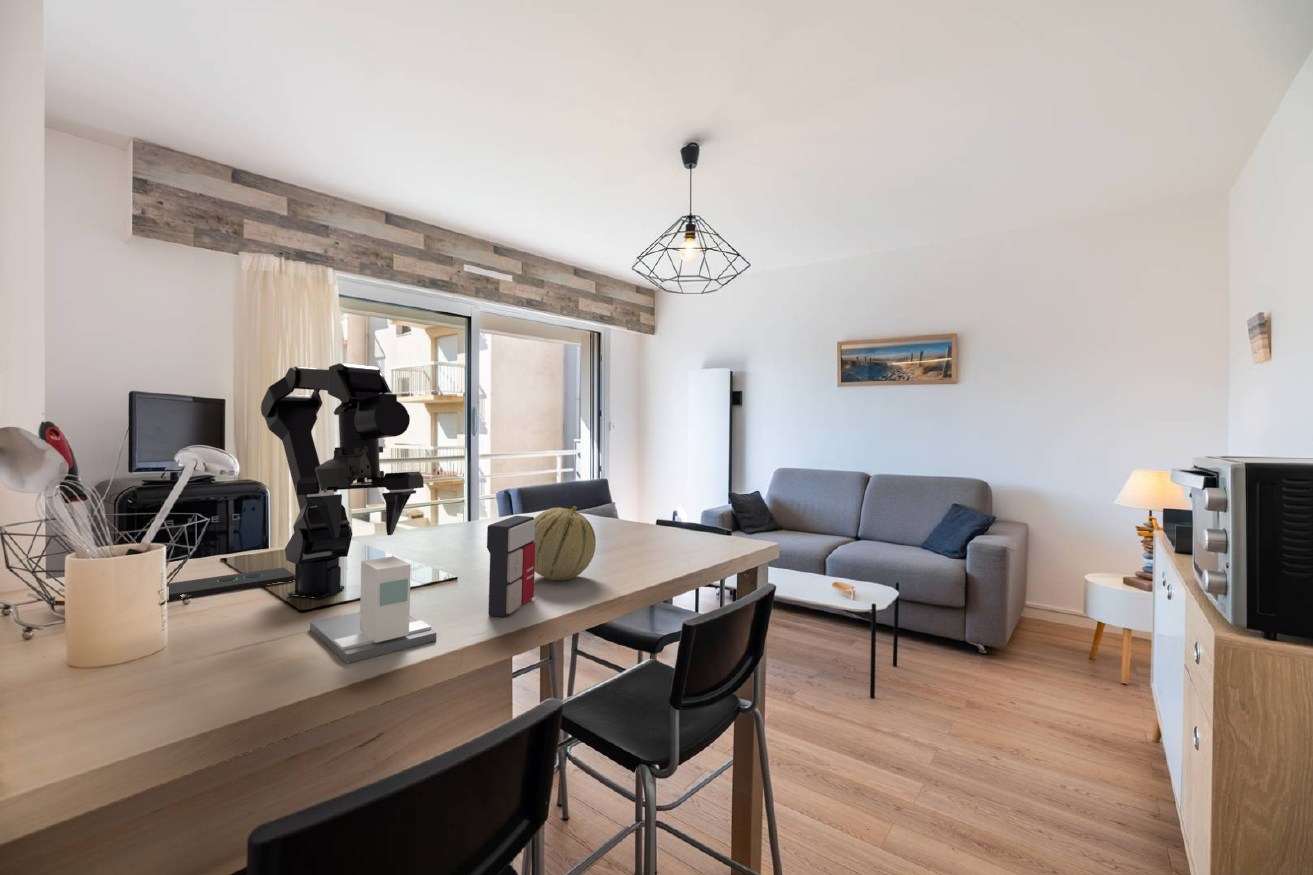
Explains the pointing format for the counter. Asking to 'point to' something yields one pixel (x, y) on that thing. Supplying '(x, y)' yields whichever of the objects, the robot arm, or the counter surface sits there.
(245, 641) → the counter surface
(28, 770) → the counter surface
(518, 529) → the grey red panelled box
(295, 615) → the counter surface
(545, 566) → the cantaloupe
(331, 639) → the grey flat rectangular slab
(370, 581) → the block
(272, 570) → the smart home device
